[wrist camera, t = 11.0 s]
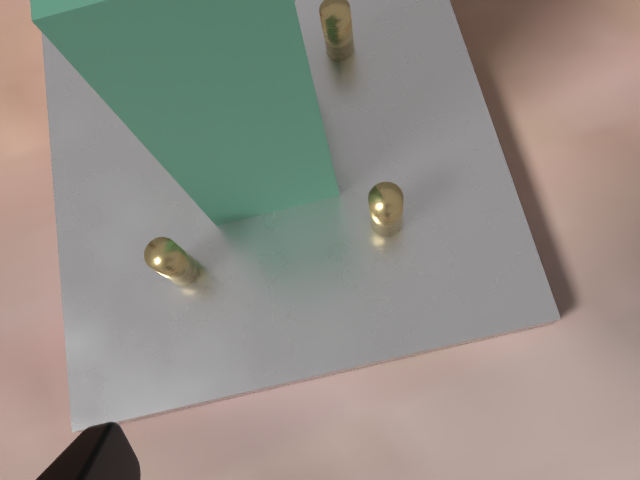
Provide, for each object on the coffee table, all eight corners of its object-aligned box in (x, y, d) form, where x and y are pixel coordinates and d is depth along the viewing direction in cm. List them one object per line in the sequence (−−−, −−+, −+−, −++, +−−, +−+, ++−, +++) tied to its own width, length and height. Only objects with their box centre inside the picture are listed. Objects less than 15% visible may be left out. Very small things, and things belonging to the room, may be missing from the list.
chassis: (553, 323, 22) (582, 305, 18) (85, 431, 22) (32, 433, 19) (423, -55, 27) (427, -122, 24) (53, 43, 28) (7, -8, 25)
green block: (340, 195, 23) (282, -48, 11) (216, 226, 23) (31, 20, 11) (313, 87, 25) (237, -227, 13) (197, 117, 25) (17, -164, 13)
